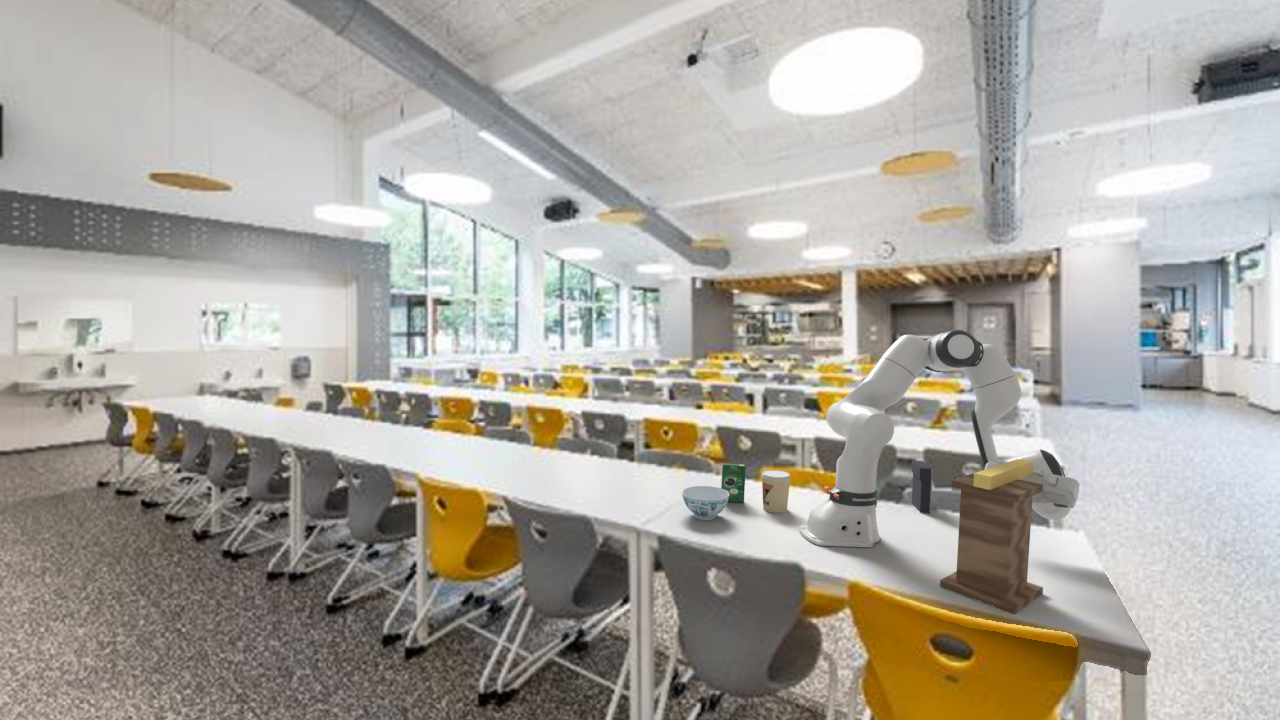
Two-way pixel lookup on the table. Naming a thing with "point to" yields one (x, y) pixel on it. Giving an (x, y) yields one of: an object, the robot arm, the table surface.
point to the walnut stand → (994, 544)
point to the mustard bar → (1003, 474)
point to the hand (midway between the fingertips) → (1020, 468)
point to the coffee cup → (775, 490)
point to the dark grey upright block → (921, 486)
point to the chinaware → (705, 501)
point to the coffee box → (734, 481)
